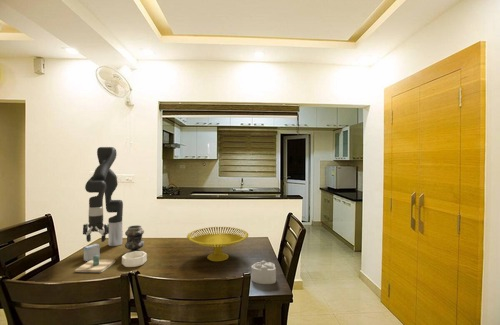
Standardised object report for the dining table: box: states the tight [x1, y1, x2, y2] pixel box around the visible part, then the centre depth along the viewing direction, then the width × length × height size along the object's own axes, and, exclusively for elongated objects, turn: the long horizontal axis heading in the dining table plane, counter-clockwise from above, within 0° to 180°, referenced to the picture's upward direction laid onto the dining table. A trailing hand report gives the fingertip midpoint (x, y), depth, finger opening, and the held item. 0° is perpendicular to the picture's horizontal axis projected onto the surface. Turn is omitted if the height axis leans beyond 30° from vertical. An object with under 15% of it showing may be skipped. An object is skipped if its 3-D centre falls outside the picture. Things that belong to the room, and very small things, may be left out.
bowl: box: [121, 250, 148, 268], centre depth 160 cm, size 13×13×5 cm
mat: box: [75, 261, 116, 273], centre depth 154 cm, size 14×15×1 cm
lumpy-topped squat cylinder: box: [250, 260, 277, 285], centre depth 141 cm, size 10×13×9 cm
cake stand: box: [186, 226, 249, 262], centre depth 171 cm, size 40×40×15 cm
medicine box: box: [83, 243, 101, 263], centre depth 166 cm, size 8×4×9 cm, turn 149°
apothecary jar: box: [124, 224, 145, 253], centre depth 177 cm, size 12×12×18 cm
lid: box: [74, 255, 116, 273], centre depth 154 cm, size 15×15×6 cm
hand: (96, 241), depth 154 cm, fingers open, 8 cm apart
